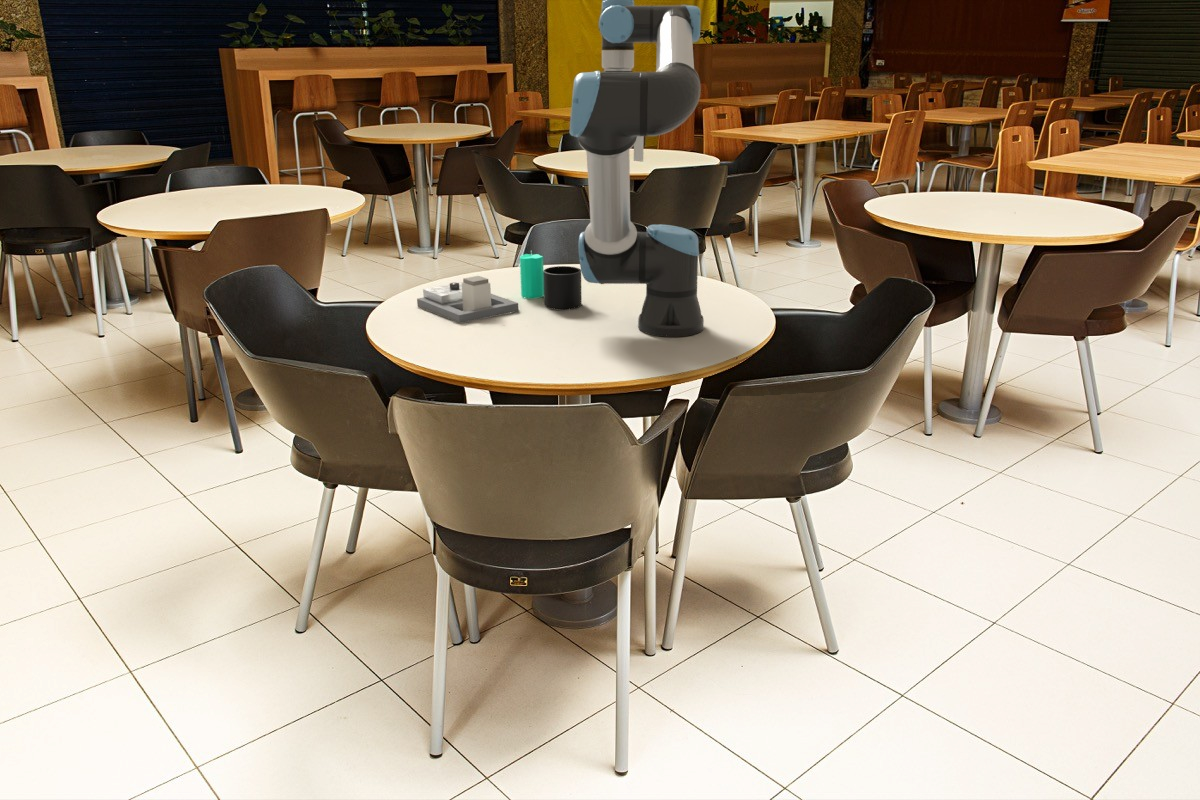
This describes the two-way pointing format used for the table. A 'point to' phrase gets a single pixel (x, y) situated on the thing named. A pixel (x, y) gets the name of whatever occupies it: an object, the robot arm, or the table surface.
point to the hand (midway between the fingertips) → (617, 163)
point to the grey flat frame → (456, 310)
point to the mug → (562, 287)
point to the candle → (532, 276)
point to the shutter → (444, 293)
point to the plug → (476, 293)
